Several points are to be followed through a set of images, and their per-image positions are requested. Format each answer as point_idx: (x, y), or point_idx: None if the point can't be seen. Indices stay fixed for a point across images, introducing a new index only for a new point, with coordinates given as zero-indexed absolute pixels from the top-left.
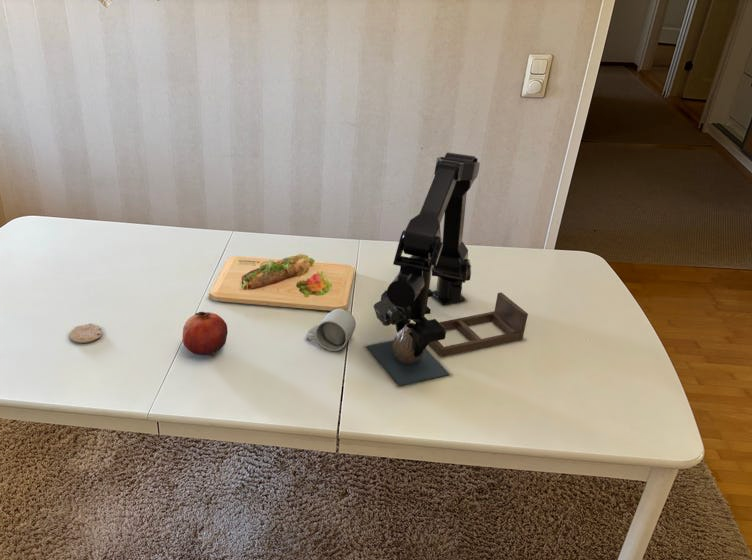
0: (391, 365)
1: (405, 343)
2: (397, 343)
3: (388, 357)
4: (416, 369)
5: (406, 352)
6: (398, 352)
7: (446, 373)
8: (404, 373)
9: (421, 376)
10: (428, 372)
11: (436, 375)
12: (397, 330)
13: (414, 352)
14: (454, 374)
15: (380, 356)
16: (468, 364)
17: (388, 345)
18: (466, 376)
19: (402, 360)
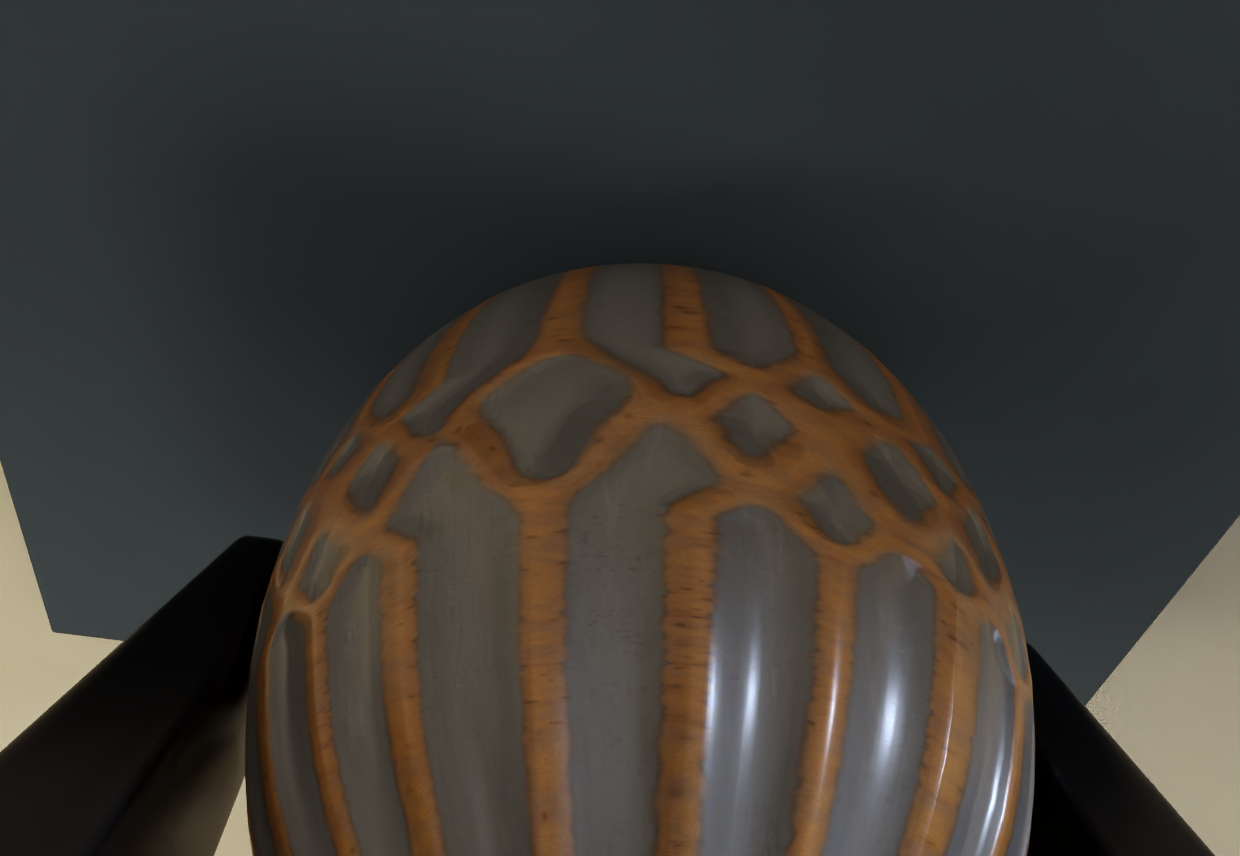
0: (622, 52)
1: (370, 718)
2: (648, 556)
3: (904, 182)
4: (290, 368)
5: (337, 499)
6: (536, 362)
7: (68, 613)
8: (228, 110)
9: (57, 317)
10: (145, 461)
11: (39, 502)
12: (1135, 841)
13: (184, 626)
14: (74, 658)
15: (1057, 52)
16: (237, 821)
17: (1194, 408)
18: (5, 717)
19: (486, 303)
